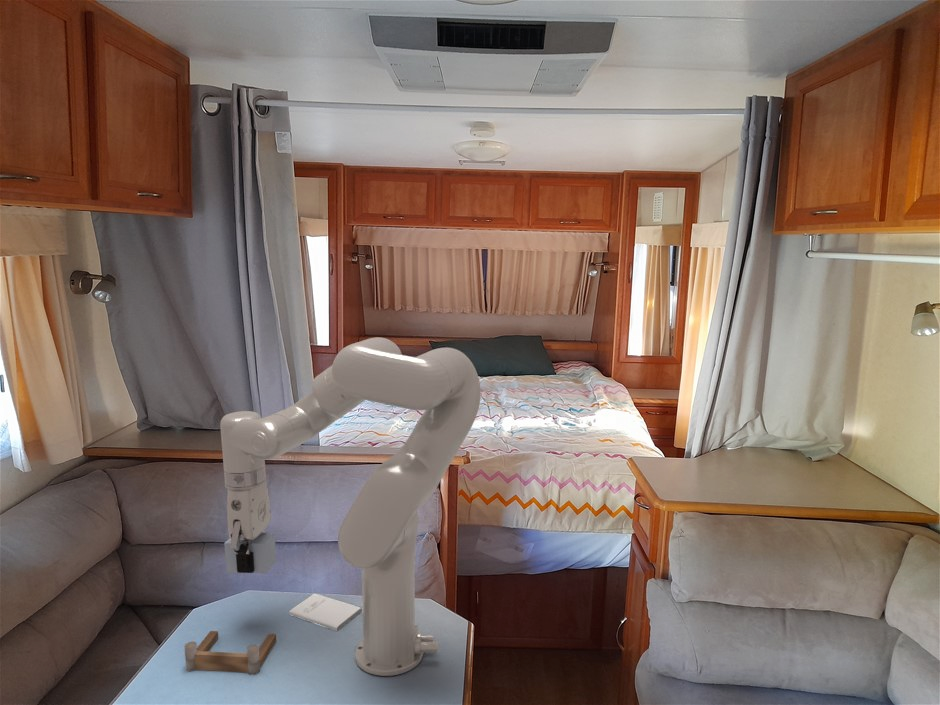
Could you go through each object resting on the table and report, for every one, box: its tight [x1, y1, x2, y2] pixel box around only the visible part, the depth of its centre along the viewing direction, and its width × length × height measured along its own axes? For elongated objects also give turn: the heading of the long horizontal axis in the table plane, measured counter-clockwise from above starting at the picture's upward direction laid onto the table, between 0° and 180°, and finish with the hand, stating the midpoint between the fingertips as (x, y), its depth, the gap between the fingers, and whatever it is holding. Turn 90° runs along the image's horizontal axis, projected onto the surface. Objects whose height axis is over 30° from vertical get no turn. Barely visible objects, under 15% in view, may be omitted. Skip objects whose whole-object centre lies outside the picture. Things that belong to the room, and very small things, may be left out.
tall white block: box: [223, 532, 277, 574], centre depth 129 cm, size 8×5×6 cm, turn 86°
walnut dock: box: [183, 630, 277, 675], centre depth 122 cm, size 14×10×4 cm
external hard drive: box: [288, 593, 363, 632], centre depth 137 cm, size 2×8×12 cm
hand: (251, 564), depth 130 cm, fingers closed on tall white block, 5 cm apart
